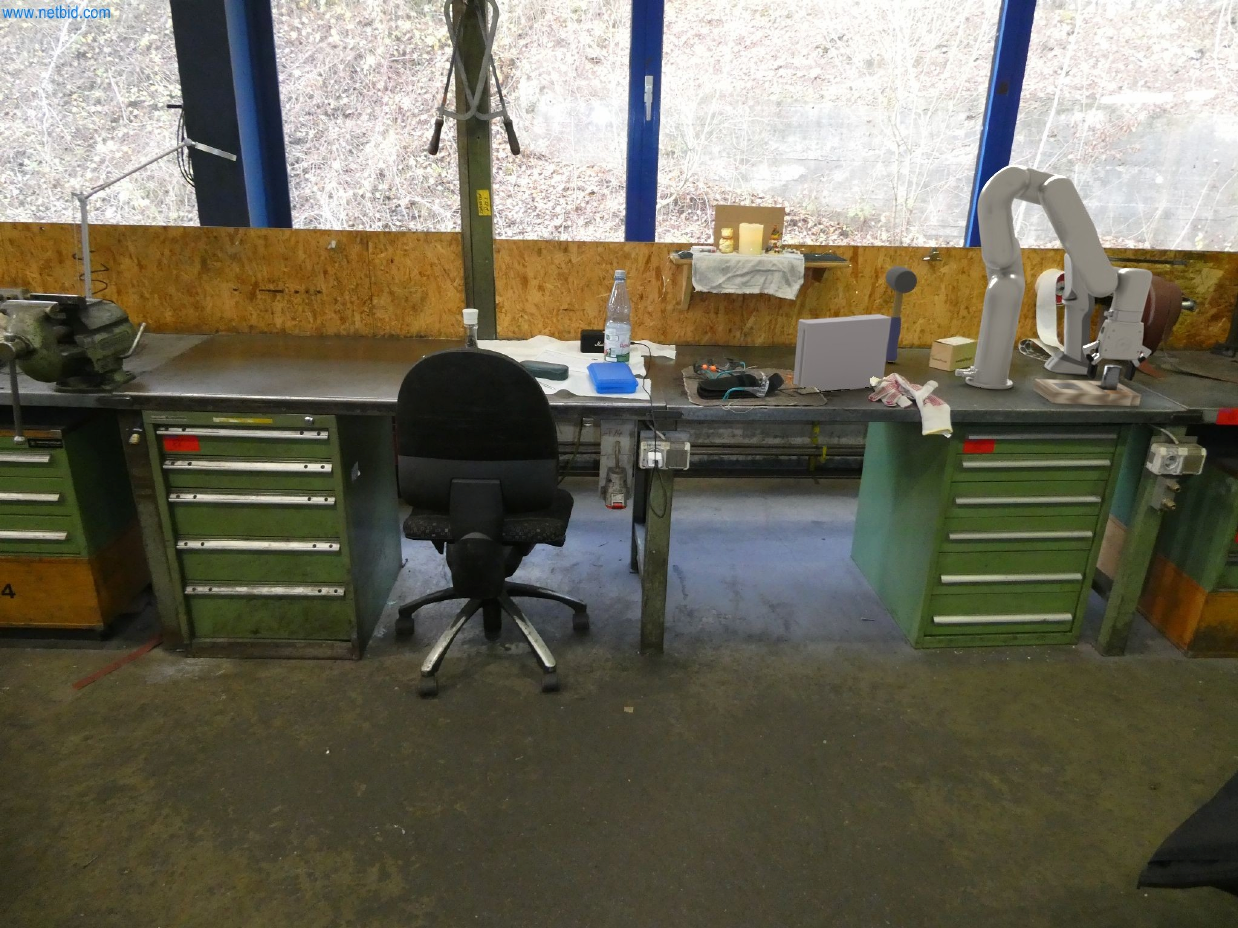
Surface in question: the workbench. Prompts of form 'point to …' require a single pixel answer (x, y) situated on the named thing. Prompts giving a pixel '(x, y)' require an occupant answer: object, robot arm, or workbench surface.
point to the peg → (1110, 377)
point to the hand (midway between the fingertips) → (1109, 378)
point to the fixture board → (1085, 393)
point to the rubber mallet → (898, 304)
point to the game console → (841, 351)
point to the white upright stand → (1073, 325)
